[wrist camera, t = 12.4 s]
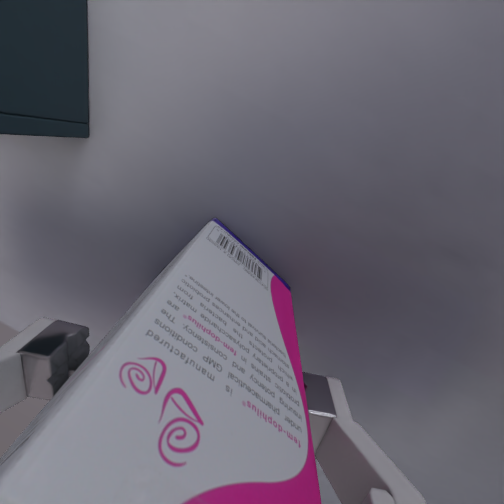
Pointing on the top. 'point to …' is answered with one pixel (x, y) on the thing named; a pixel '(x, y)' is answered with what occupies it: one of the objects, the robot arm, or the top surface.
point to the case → (44, 68)
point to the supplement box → (180, 397)
